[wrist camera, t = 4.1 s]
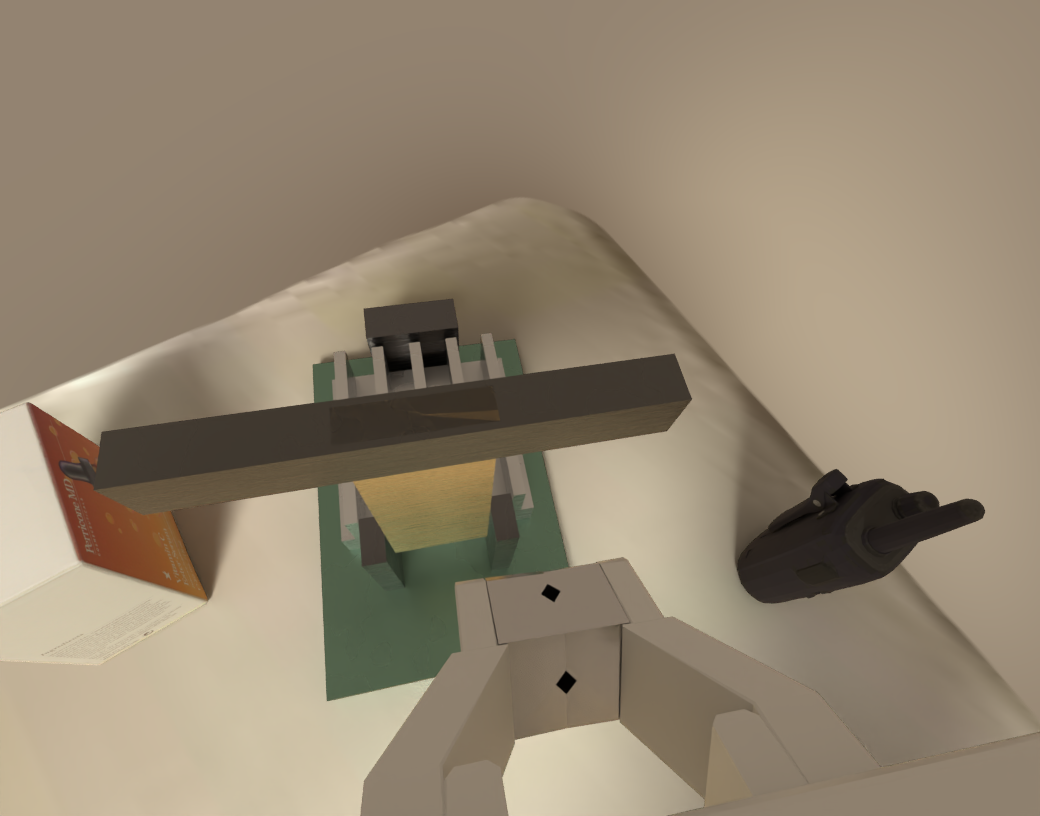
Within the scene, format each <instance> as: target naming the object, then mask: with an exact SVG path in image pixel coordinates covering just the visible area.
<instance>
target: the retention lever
mask: <svg viewBox="0 0 1040 816" xmlns="http://www.w3.org/2000/svg"><path fill="white" fill-rule="evenodd" d="M691 400H692V398H691V396H690V393H689V390H688V388H687V385H686V383H685V380H684V377H683V375H682V372H681V369H680V367H679V364H678V362H677V359H676V356H675V354H670V355H662V356H655V357H648V358H640V359H633V360H626V361H618V362H611V363H604V364H596V365H589V366H582V367H574V368H567V369H560V370H552V371H545V372H538V373H530V374H523V375H516V376H508V377H501V378H494V379H486V380H479V381H472V382H464V383H457V384H450V385H442V386H435V387H428V388H420V389H413V390H406V391H398V392H391V393H384V394H376V395H369V396H362V397H354V398H347V399H340V400H332V401H325V402H318V403H310V404H303V405H296V406H289V407H281V408H274V409H267V410H259V411H252V412H245V413H237V414H230V415H223V416H215V417H208V418H201V419H193V420H186V421H179V422H171V423H164V424H157V425H149V426H142V427H135V428H127V429H120V430H113V431H105V432H102V434H101V441H100V448H99V455H98V462H97V469H96V476H95V483H94V489H93V490H94V491H96V492H98V493H100V494H102V495H104V496H106V497H108V498H110V499H112V500H114V501H116V502H118V503H120V504H122V505H124V506H126V507H128V508H130V509H132V510H134V511H136V512H138V513H140V514H142V515H148V514H154V513H160V512H167V511H173V510H179V509H185V508H192V507H198V506H204V505H210V504H216V503H223V502H229V501H235V500H241V499H248V498H254V497H260V496H266V495H272V494H279V493H285V492H291V491H297V490H304V489H310V488H316V487H322V486H328V485H335V484H341V483H347V482H353V483H354V485H355V486H356V488H357V490H358V491H359V493H360V495H361V496H362V498H363V500H364V501H365V503H366V505H367V506H368V508H369V510H370V511H371V513H372V515H373V516H374V518H375V520H376V521H377V523H378V525H379V526H380V528H381V530H382V531H383V533H384V535H385V536H386V538H387V540H388V541H389V543H390V545H391V546H392V548H393V550H394V551H395V553H399V552H404V551H410V550H415V549H421V548H426V547H432V546H437V545H443V544H448V543H453V542H459V541H464V540H470V539H475V538H481V537H486V536H487V533H488V525H489V516H490V507H491V498H492V489H493V480H494V471H495V463H496V458H503V457H509V456H515V455H521V454H528V453H534V452H540V451H546V450H552V449H559V448H565V447H571V446H577V445H584V444H590V443H596V442H602V441H608V440H615V439H621V438H627V437H633V436H640V435H646V434H652V433H658V432H664V431H667V430H668V429H669V428H670V427H671V425H672V424H673V423H674V421H675V420H676V419H677V418H678V416H679V415H680V414H681V413H682V411H683V410H684V409H685V408H686V406H687V405H688V404H689V403H690V401H691Z"/></svg>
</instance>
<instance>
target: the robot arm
mask: <svg viewBox="0 0 1040 816" xmlns="http://www.w3.org/2000/svg"><path fill="white" fill-rule="evenodd" d="M455 597H456V607H457V617H458V627H459V637H460V648H461V652H457V653H452V654H451V655H450V657H449V658H448V660H447V661H446V663H445V664H444V665H443V667H442V668H441V670H440V671H439V673H438V674H437V676H436V677H435V679H434V680H433V681H432V683H431V684H430V686H429V687H428V689H427V690H426V692H425V693H424V695H423V696H422V697H421V699H420V700H419V702H418V703H417V705H416V706H415V708H414V709H413V711H412V712H411V713H410V715H409V716H408V718H407V719H406V721H405V722H404V724H403V725H402V727H401V728H400V729H399V731H398V732H397V734H396V735H395V737H394V738H393V740H392V741H391V743H390V744H389V745H388V747H387V748H386V750H385V751H384V753H383V754H382V756H381V757H380V758H379V760H378V761H377V763H376V764H375V766H374V767H373V769H372V770H371V772H370V773H369V774H368V776H367V777H366V779H365V780H364V787H363V796H362V806H361V815H360V816H508V811H507V805H506V798H505V792H504V786H503V780H502V777H503V774H504V771H505V769H506V766H507V763H508V760H509V758H510V755H511V752H512V750H513V747H514V744H515V740H516V739H521V738H525V737H530V736H534V735H538V734H543V733H547V732H552V731H556V730H561V729H565V728H571V727H577V726H583V725H589V724H595V723H601V722H608V721H614V720H620V723H621V724H622V725H624V726H625V727H626V728H627V729H628V730H629V731H630V732H631V733H632V734H633V735H635V736H636V737H637V738H638V739H639V740H640V741H641V742H642V743H643V744H644V745H646V746H647V747H648V748H649V749H650V750H651V751H652V752H653V753H654V754H655V755H657V756H658V757H659V758H660V759H661V760H662V761H663V762H664V763H665V764H666V765H667V766H669V767H670V768H671V769H672V770H673V771H674V772H675V773H676V774H677V775H678V776H680V777H681V778H682V779H683V780H684V781H685V782H686V783H687V784H688V785H689V786H691V787H692V788H693V789H694V790H695V791H696V792H697V793H698V794H699V795H700V796H702V797H703V798H704V799H705V803H704V808H699V809H695V810H690V811H686V812H681V813H677V814H673V815H668V816H1040V732H1037V733H1033V734H1028V735H1024V736H1019V737H1015V738H1011V739H1006V740H1002V741H997V742H993V743H988V744H984V745H979V746H975V747H970V748H966V749H961V750H957V751H953V752H948V753H944V754H939V755H935V756H930V757H926V758H921V759H917V760H912V761H908V762H904V763H899V764H895V765H890V766H886V767H881V766H880V765H879V764H878V763H877V762H876V761H875V759H874V758H873V757H872V756H871V755H870V754H869V752H868V751H867V750H866V749H865V748H864V746H863V745H862V744H861V743H860V742H859V741H858V739H857V738H856V737H855V736H854V735H853V734H852V732H851V731H850V730H849V729H848V728H847V726H846V725H845V724H844V723H843V722H842V721H841V719H840V718H839V717H838V716H837V715H836V714H835V712H834V711H833V710H832V709H831V708H830V706H829V705H828V704H827V703H826V702H825V701H824V699H823V698H822V697H821V696H820V695H819V694H818V693H817V692H816V691H814V690H812V689H810V688H808V687H806V686H804V685H802V684H800V683H798V682H797V681H795V680H793V679H791V678H789V677H787V676H785V675H783V674H781V673H779V672H777V671H776V670H774V669H772V668H770V667H768V666H766V665H764V664H762V663H760V662H758V661H756V660H755V659H753V658H751V657H749V656H747V655H745V654H743V653H741V652H739V651H737V650H735V649H734V648H732V647H730V646H728V645H726V644H724V643H722V642H720V641H718V640H716V639H714V638H713V637H711V636H709V635H707V634H705V633H703V632H701V631H699V630H697V629H695V628H694V627H692V626H690V625H688V624H686V623H684V622H682V621H680V620H678V619H676V618H674V617H667V618H664V616H663V615H662V613H661V612H660V610H659V609H658V607H657V605H656V604H655V602H654V601H653V599H652V598H651V596H650V594H649V593H648V591H647V590H646V588H645V586H644V585H643V583H642V582H641V580H640V579H639V577H638V575H637V574H636V572H635V571H634V569H633V568H632V566H631V564H630V563H629V561H628V560H627V559H625V558H623V557H622V558H616V559H610V560H605V561H599V562H596V563H593V564H587V565H580V566H574V567H567V568H561V569H554V570H548V571H537V572H529V573H520V574H512V575H504V576H496V577H488V578H485V580H484V579H483V578H481V579H474V580H467V581H460V582H455Z"/></svg>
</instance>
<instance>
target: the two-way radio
mask: <svg viewBox="0 0 1040 816" xmlns="http://www.w3.org/2000/svg"><path fill="white" fill-rule="evenodd" d="M846 481H847V478H846V477H845V476H844V475H843V474H842V473H841V472H840V471H839V470H837V469H835V470H833V471H831V472H829V473H827V474H826V475H824V476H823V477H822V478H821V479H819V480H818V482H817V483H816V484H815V485H814V486H813V488H812V491H811V495H810V497H809V498H808V499H806V500H805V501H803V502H801V503H800V504H798V505H796V506H795V507H793V508H791V509H789V510H787V511H786V512H784V513H782V514H781V515H780V516H778V517H777V518H776V519H775V520H774V521H773V522H772V523H771V524H770V525H769V526H768V529H767V530H765V531H764V532H763V533H761V534H760V535H759V536H758V537H757V538H756V539H754V540H753V541H752V542H751V543H750V544H749V545H748V546H747V548H746V549H745V550H744V551H743V552H742V554H741V556H740V558H739V560H738V567H737V570H738V571H739V575H740V580H741V584H742V585H743V586H744V588H745V589H746V591H747V592H748V593H749V594H750V595H751V596H753V597H754V598H755V599H757V600H758V601H760V602H763V603H781V602H786V601H790V600H794V599H798V598H804V597H807V598H811V597H814V596H815V595H817V594H820V593H821V594H825V593H831V592H833V591H835V590H839V589H844V588H848V587H852V586H856V585H860V584H864V583H867V582H870V581H873V580H876V579H879V578H882V577H884V576H886V575H887V574H889V573H890V572H891V571H893V570H894V569H895V568H896V567H897V566H898V565H899V564H900V563H901V562H902V561H903V560H904V559H905V557H906V556H907V555H908V554H909V553H910V552H911V551H912V549H913V548H914V547H915V546H916V544H917V543H918V542H920V541H923V540H926V539H929V538H932V537H935V536H938V535H940V534H943V533H946V532H948V531H951V530H954V529H957V528H959V527H962V526H965V525H967V524H970V523H973V522H976V521H978V520H980V519H982V518H983V516H984V513H985V510H984V507H983V505H982V504H981V503H980V502H978V501H977V500H973V499H963V500H960V501H957V502H954V503H950V504H947V505H944V506H941V507H939V501H938V499H937V498H936V497H935V496H934V495H933V494H932V493H929V492H927V491H921V492H915V493H908V492H907V491H906V490H904V489H903V488H902V487H900V486H898V485H896V484H893V483H891V482H888V481H886V480H884V479H874V480H869V481H866V482H862V483H860V484H856V485H851V486H849V485H848V484H847V483H846ZM831 496H833V497H831Z"/></svg>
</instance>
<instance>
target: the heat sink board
mask: <svg viewBox="0 0 1040 816" xmlns="http://www.w3.org/2000/svg"><path fill="white" fill-rule="evenodd" d="M364 318H365V328H366V339H367V342H368V345H369V348H370V352H371V355H372V357H369V358H361V359H353V360H348V357H347V355H346V352H345V351H340V352H334V362H329V363H321V364H313V384H314V403H318V402H325V401H332V400H340V399H347V398H354V397H362V396H369V395H376V394H384V393H391V392H398V391H406V390H413V389H420V388H428V387H435V386H442V385H450V384H457V383H464V382H472V381H479V380H486V379H494V378H501V377H508V376H516V375H523V371H522V367H521V363H520V359H519V354H518V350H517V346H516V342H515V339H512V340H504V341H496V342H493V338H492V333H487V334H481V344H473V345H465V346H459V336H458V324H457V318H456V313H455V307H454V302H453V299H447V300H438V301H429V302H420V303H411V304H402V305H393V306H384V307H375V308H366V309H364ZM318 503H319V526H320V550H321V574H322V598H323V621H324V645H325V669H326V693H327V701H331V700H336V699H340V698H345V697H349V696H354V695H358V694H363V693H367V692H372V691H376V690H381V689H385V688H390V687H394V686H399V685H403V684H408V683H412V682H417V681H421V680H426V679H430V678H435V677H436V676H437V674H438V673H439V671H440V670H441V668H442V667H443V665H444V664H445V663H446V661H447V660H448V658H449V657H450V655H451V654H452V653H457V652H461V648H460V637H459V627H458V617H457V607H456V597H455V582H460V581H467V580H474V579H481V578H483V579H484V580H485V578H488V577H496V576H504V575H512V574H520V573H529V572H537V571H548V570H554V569H561V568H567V567H568V563H567V558H566V554H565V550H564V546H563V541H562V537H561V533H560V529H559V524H558V520H557V516H556V512H555V507H554V503H553V499H552V495H551V490H550V486H549V482H548V478H547V473H546V469H545V465H544V461H543V456H542V452H541V451H540V452H534V453H528V454H521V455H515V456H509V457H503V458H496V463H495V471H494V480H493V489H492V498H491V507H490V516H489V525H488V533H487V536H486V537H481V538H475V539H470V540H464V541H459V542H453V543H448V544H443V545H437V546H432V547H426V548H421V549H415V550H410V551H404V552H399V553H395V551H394V550H393V548H392V546H391V545H390V543H389V541H388V540H387V538H386V536H385V535H384V533H383V531H382V530H381V528H380V526H379V525H378V523H377V521H376V520H375V518H374V516H373V515H372V513H371V511H370V510H369V508H368V506H367V505H366V503H365V501H364V500H363V498H362V496H361V495H360V493H359V491H358V490H357V488H356V486H355V485H354V483H353V482H347V483H341V484H335V485H328V486H322V487H318Z"/></svg>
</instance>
